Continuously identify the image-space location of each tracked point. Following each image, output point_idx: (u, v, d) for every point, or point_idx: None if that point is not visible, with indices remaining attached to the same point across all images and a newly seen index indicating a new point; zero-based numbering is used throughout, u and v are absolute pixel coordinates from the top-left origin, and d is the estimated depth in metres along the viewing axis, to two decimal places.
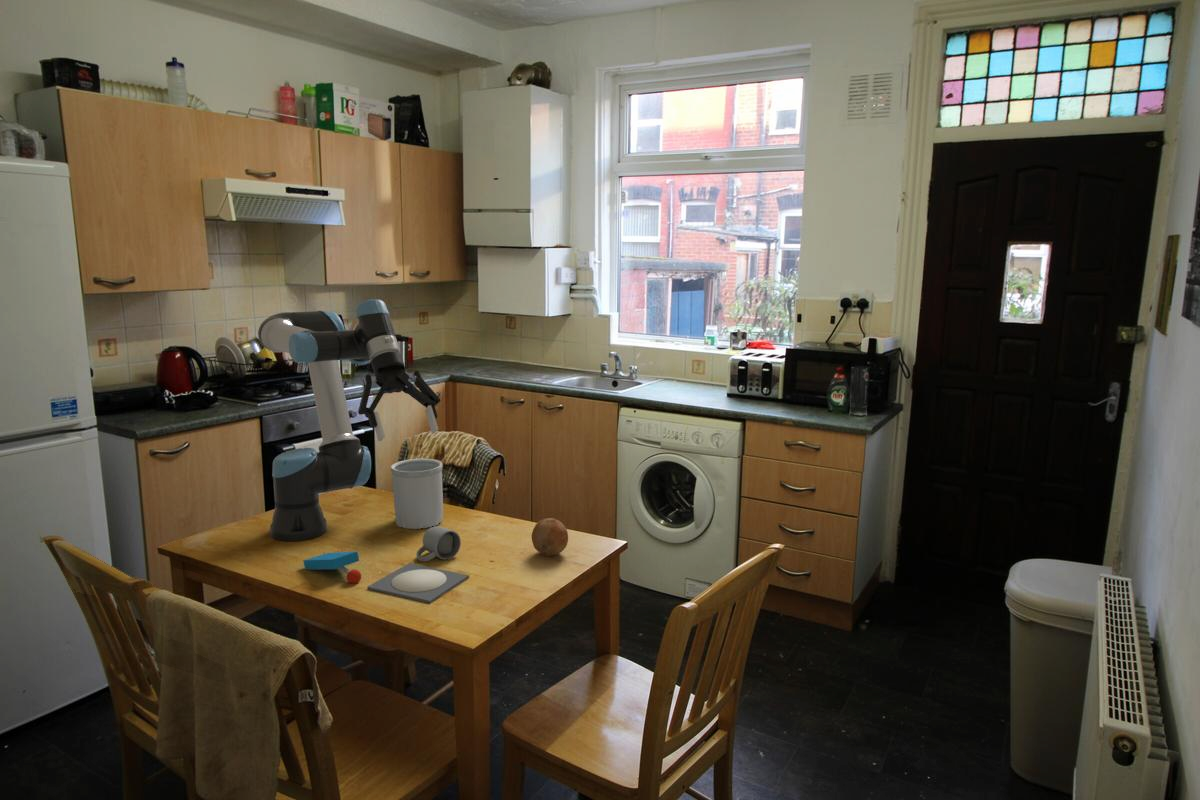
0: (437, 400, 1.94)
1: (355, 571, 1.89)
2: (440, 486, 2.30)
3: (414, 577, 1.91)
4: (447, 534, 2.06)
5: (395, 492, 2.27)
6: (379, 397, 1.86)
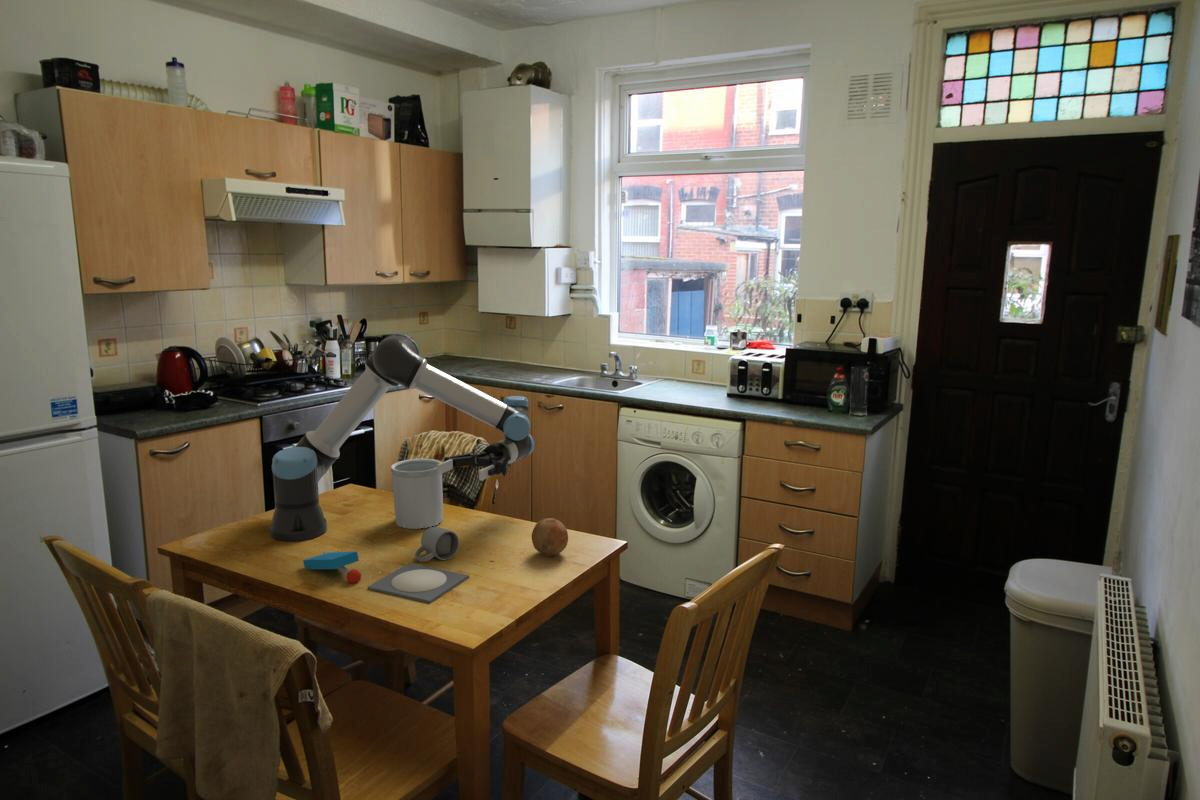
0: None
1: (355, 571, 1.89)
2: (440, 486, 2.30)
3: (414, 577, 1.91)
4: (445, 534, 2.05)
5: (395, 492, 2.27)
6: None
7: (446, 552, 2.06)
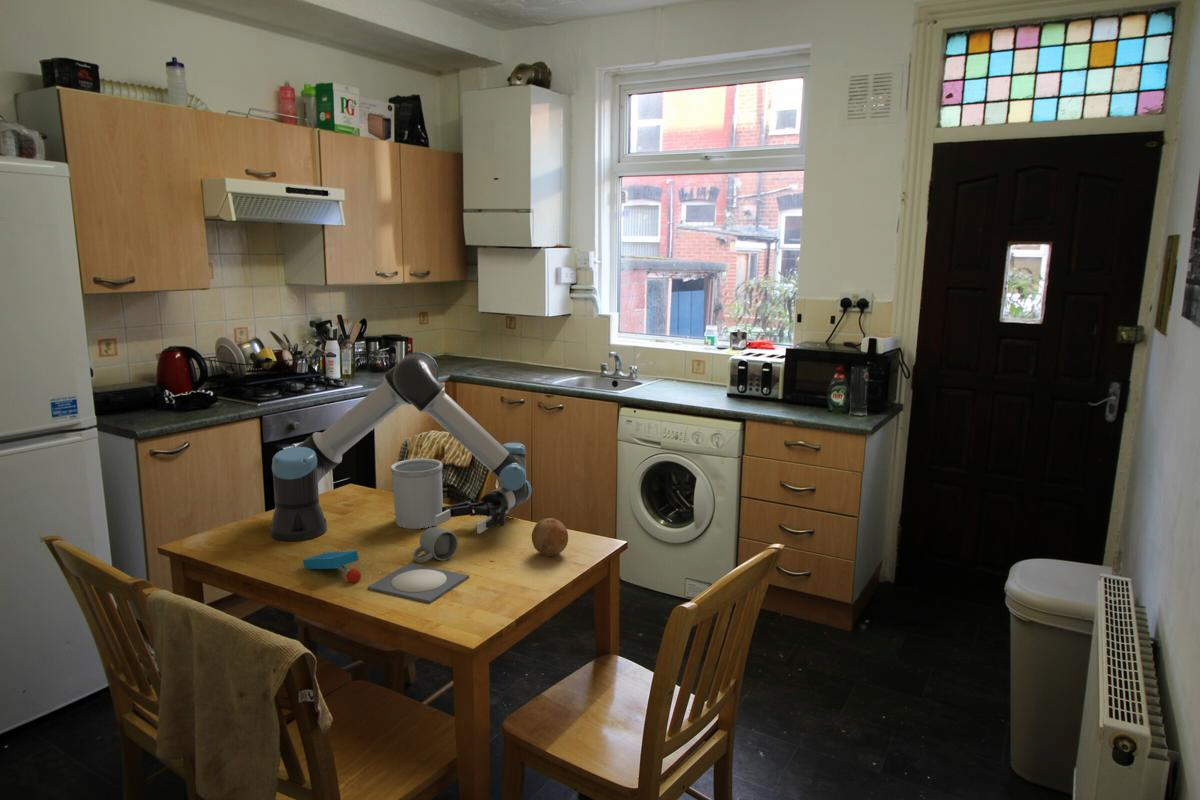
0: None
1: (355, 570, 1.90)
2: (440, 486, 2.30)
3: (414, 577, 1.91)
4: (444, 535, 2.05)
5: (395, 492, 2.27)
6: None
7: (445, 552, 2.05)
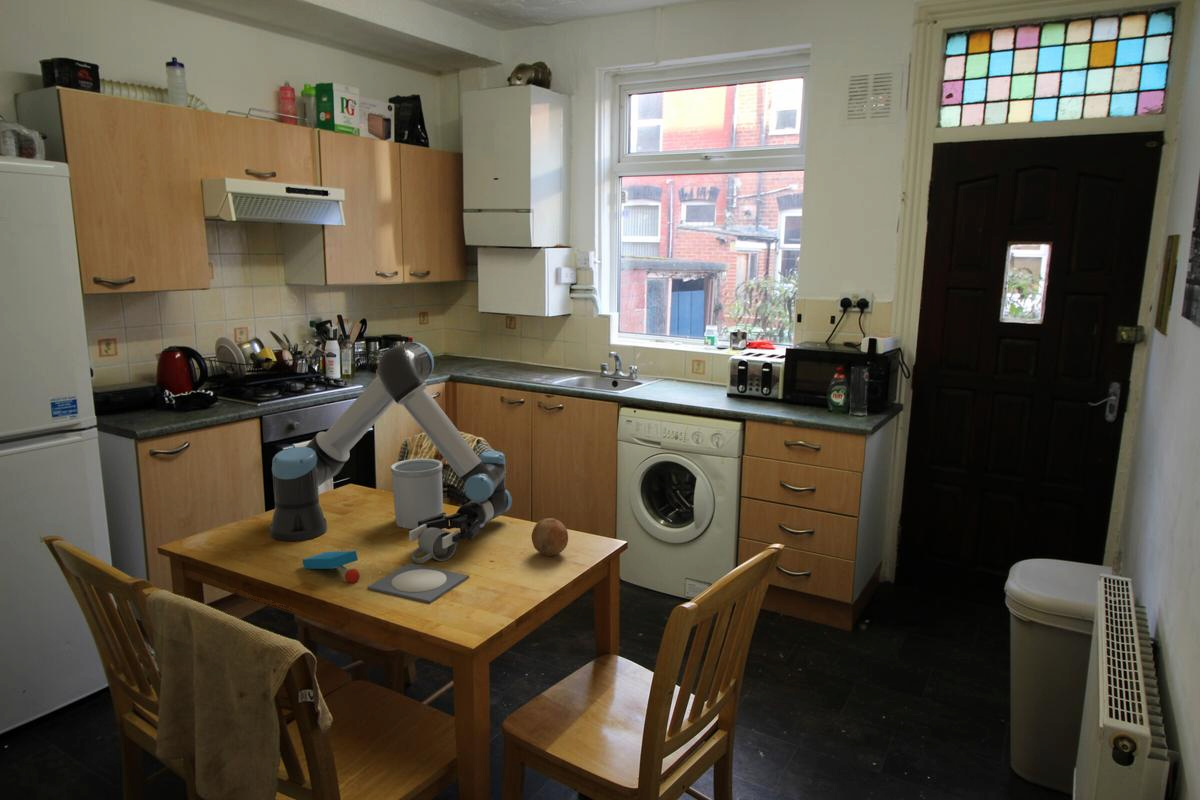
0: None
1: (353, 570, 1.90)
2: (440, 486, 2.30)
3: (414, 577, 1.91)
4: (443, 535, 2.04)
5: (395, 492, 2.27)
6: None
7: (443, 553, 2.05)
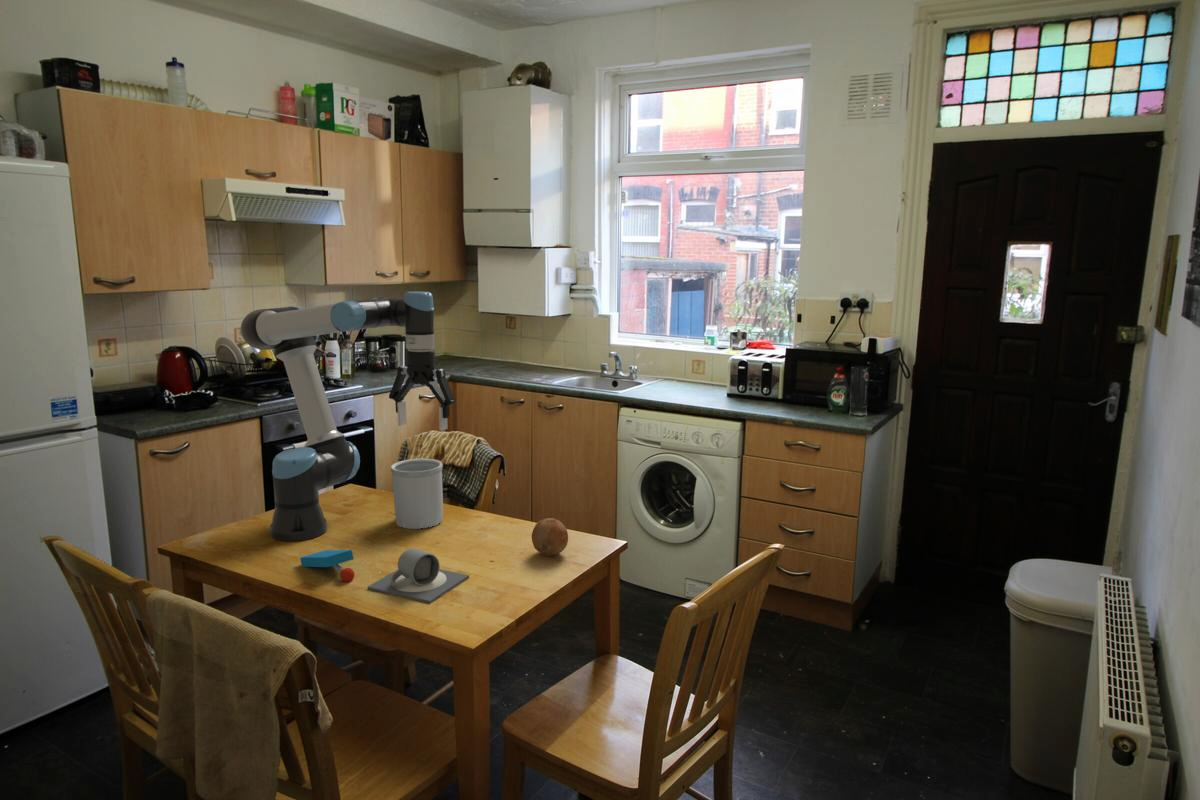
0: (447, 403, 2.08)
1: (348, 569, 1.90)
2: (440, 486, 2.30)
3: None
4: (424, 557, 1.87)
5: (395, 492, 2.27)
6: (403, 389, 2.13)
7: (425, 577, 1.88)
